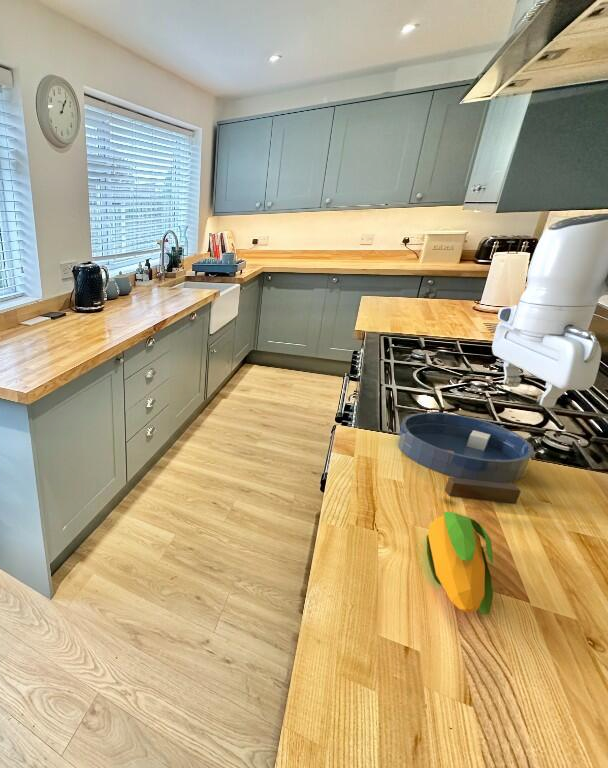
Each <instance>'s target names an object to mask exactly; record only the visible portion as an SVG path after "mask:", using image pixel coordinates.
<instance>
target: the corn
mask: <svg viewBox="0 0 608 768" xmlns="http://www.w3.org/2000/svg"><path fill="white" fill-rule="evenodd" d="M481 538H482V539H483V540H484V541H485V550H486V551H485V550H484V547H483V546H482V541H481ZM485 552H486V554H485ZM426 554H427V560H428V564H429V568H430V570H431V574H432V576H433V579H434V581H435V582H436V583H437V584H438V585H440V586H441V587H442V588H443V590H444V591H445V593H446V595H447V597H448V599H449V600H450V602H451V603H452V604H453V605H454V606H455V607H456V608H457V609H459V610H460V611H461V612H463V613H467V614H472V613H473V612H476V611H479V612H480V614H482V615H485V616H487V615H489V613H490V611H491V608H492V604H493V597H494V591H493V582H492V575H491V572H490V568H489V565H488V561H490V564H491V565H493V564H494V557H493V556H494V553H493V545H492V539H491V537H490V536H489V533H488V532H487V531H486V530H485V528H484V527H483V526H482V525H481V524H480V523H479V522H478V521H476V520H475V519H472V518H470V517H468V516H467V515H463V514H460V513H457V512H453V511H444V512H443V515H440V516H439V517H437V518H435V519H434V520H433V521H432V522H431V523H429V526H428V532H427V536H426ZM486 556H487V557H486ZM487 558H488V561H487Z"/></svg>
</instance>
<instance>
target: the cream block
mask: <svg viewBox="0 0 608 768" xmlns="http://www.w3.org/2000/svg"><path fill="white" fill-rule="evenodd" d="M490 436H491V435H490V434H486V433H483V432H479V431H475V430H473V431H472V433H471V434H470V437H469V440H468V443H467V447H471V448H474V449H478V450H481V451H484V450H485V449H486V447H487V444H488V441H489V439H490Z"/></svg>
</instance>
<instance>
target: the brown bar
mask: <svg viewBox="0 0 608 768" xmlns="http://www.w3.org/2000/svg"><path fill="white" fill-rule="evenodd" d="M446 482H447V483H446V485H445V488H444V491H445V493H446V494H447V495H448V497H453V498H461V499H469V500H477V501H487V502H493V503H500V504H501V503H502V504H503V503H504V504H509V505H510V504H511V505H516V504H517V503H518V499H519V498H520V494H521V493H522V490H521V489H520V488H519V487H518V486H517V485H516V484H514V483H497V482H488V481H479V480H470V479H461V478H456V477H453V476H449V477H448V479H447V481H446Z"/></svg>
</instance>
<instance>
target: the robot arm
mask: <svg viewBox="0 0 608 768" xmlns="http://www.w3.org/2000/svg"><path fill="white" fill-rule="evenodd" d="M526 279H527V283H526V287H525V289H524V291H523V292H522V294H521V296H520V297H519V301H518V304H516V305H511V306H506V307H501V308H500V309H499V310H498V313H497V320H499V321H498V323H497V325H496V327H495V331H494V334H493V338H492V345H491V352H492V355H493V356H495V357H498V358H499V359H501V360H503V373H504V378H503V381H502V384H503V385H505V386H507V387H509V388H518V387H519V386H520V384H521V381H522V378H521V377H520V369H521V370H523V371H524V372H526V373H528V374H530V375H532V376H534V377H536V378H538V379H539V380H542V381H544V382H546V383H545V386H544V387H545V388H546V389H545V391H544V392H543V393H538V394H537V397H536V399H535V403H536V404H537V405H539V406H541V407H543V408H554V407H555V406H556V404H557V401H558V399H559V398H560V397H561V396H563V395H564V394H565V393H566V392H567V391H587V390H589V389H590V388H592V387H593V386H594V384H595V382H596V379H597V375H598V372H599V368H600V364H601V357H602V348H601V345H600V341H598V338H597V337H596V333H595V332H594V331H592V330H589V328H590V325H591V322H592V319H593V317H594V314H595V312H596V309H597V306H598V303H599V300H600V298H601V297H603V296H608V213H607V212H606V213H605V212H604V213H592V214H588V215H587V214H586V215H577V216H573V217H569V218H564V219H561V220H558V221H556V222H554V223H553V224H551V225H549V226H548V227H547V228H546V229H545V230H544V231H543V233H542V235H541V236H540V237H539V240H538V243H537V244H536V246H535V249H534V252H533V254H532V257H531V260H530V263H529V266H528V269H527V274H526Z"/></svg>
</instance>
